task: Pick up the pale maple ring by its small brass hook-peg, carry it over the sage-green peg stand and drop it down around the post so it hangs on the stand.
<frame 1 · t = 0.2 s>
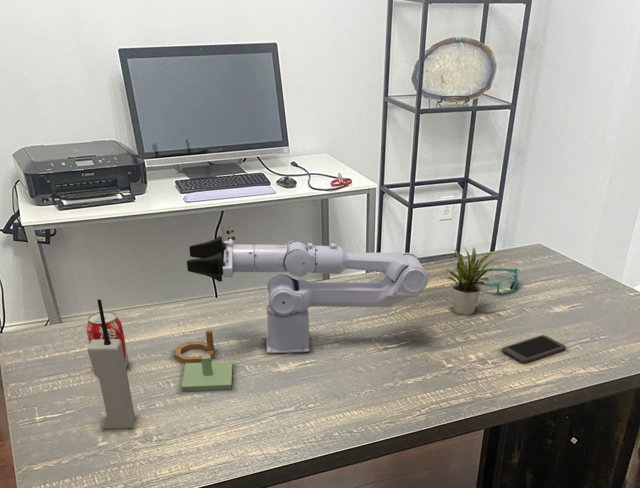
hand: (188, 258, 142), 21 cm above the table, tool horizontal, fingers open, 7 cm apart
soda can: (112, 369, 145), on the table
cell phone: (533, 350, 156), on the table
sunglasses: (491, 285, 190), on the table
house plant: (469, 311, 174), on the table
vintage mobile phone: (120, 424, 127), on the table
maple ring: (194, 354, 151), on the table
peg stand: (208, 378, 142), on the table
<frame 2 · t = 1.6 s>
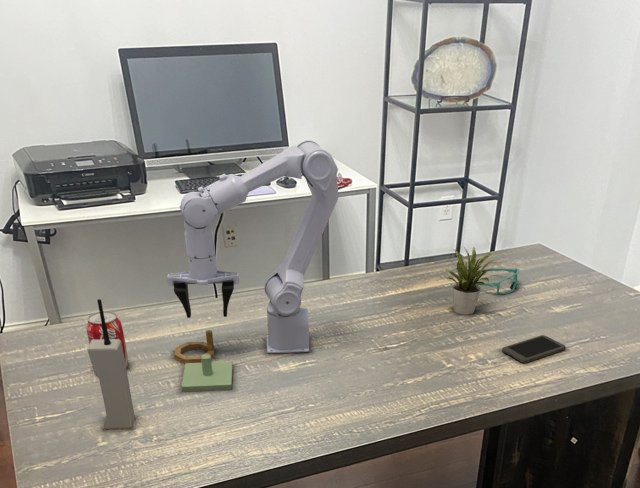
hand: (207, 315, 146), 9 cm above the table, tool pointing down, fingers open, 7 cm apart
nothing on the table moved.
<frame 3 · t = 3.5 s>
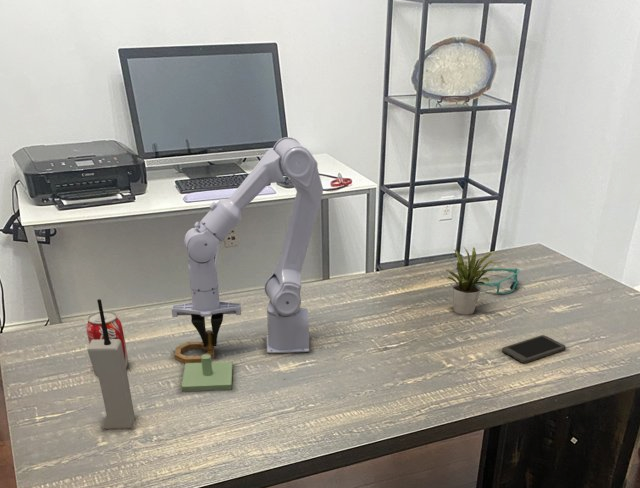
hand: (210, 344, 150), 2 cm above the table, tool pointing down, fingers closed on maple ring
maple ring: (195, 354, 151), on the table, touching gripper
everything else where it was.
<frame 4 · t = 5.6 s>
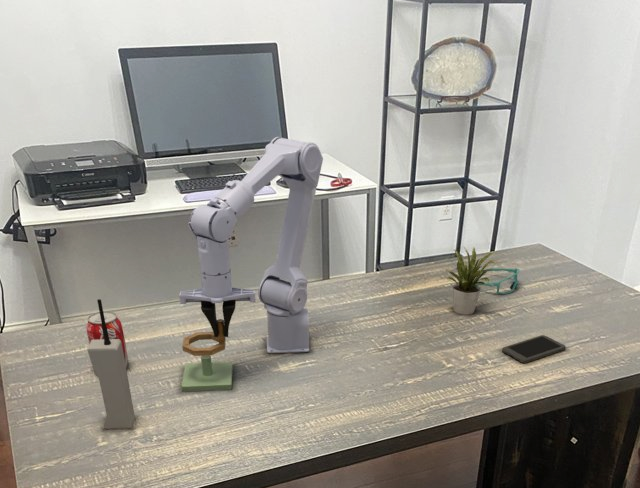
hand: (221, 334, 137), 10 cm above the table, tool pointing down, fingers closed on maple ring
maple ring: (204, 346, 138), point 7 cm above the table, touching gripper
everything else where it was.
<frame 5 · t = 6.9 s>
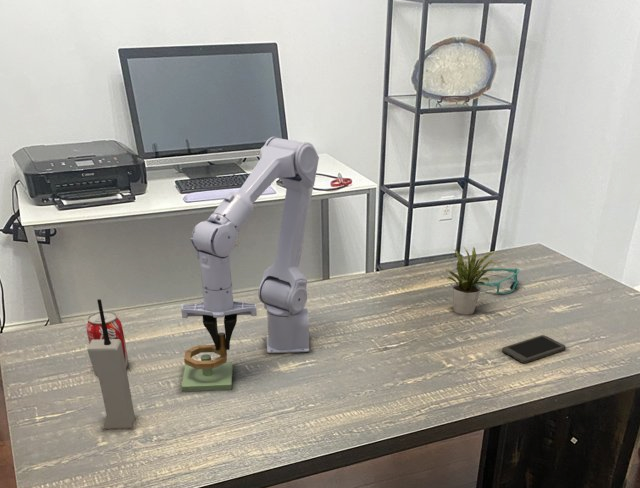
hand: (222, 348, 139), 7 cm above the table, tool pointing down, fingers closed on maple ring
maple ring: (206, 359, 140), point 5 cm above the table, touching gripper
everything else where it was.
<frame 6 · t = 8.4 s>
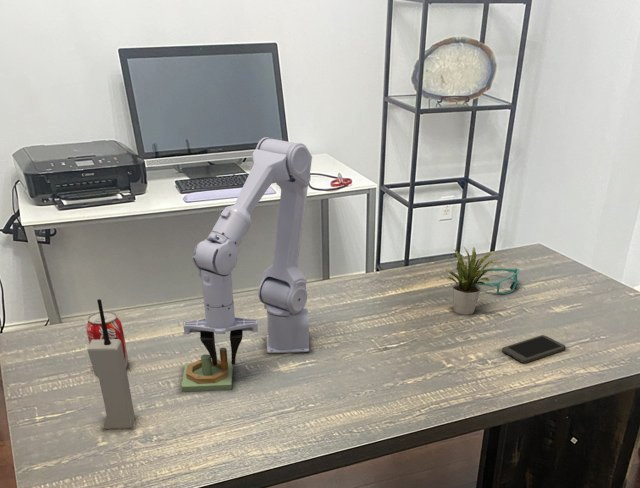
hand: (224, 363, 141), 4 cm above the table, tool pointing down, fingers open, 3 cm apart
maple ring: (207, 373, 142), point 1 cm above the table, touching peg stand
everything else where it was.
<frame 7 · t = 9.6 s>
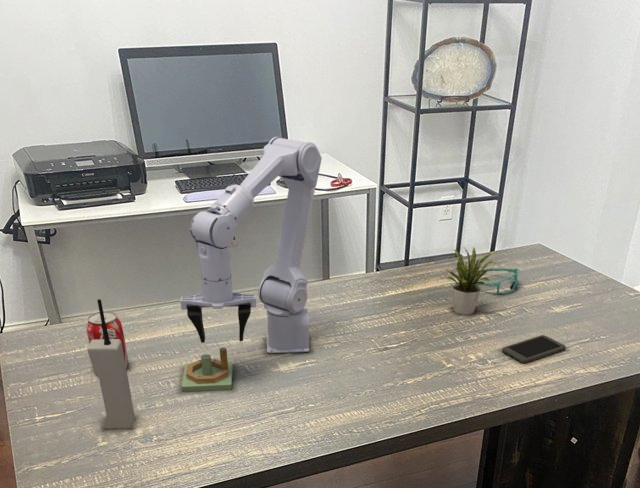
hand: (222, 339, 138), 9 cm above the table, tool pointing down, fingers open, 7 cm apart
nothing on the table moved.
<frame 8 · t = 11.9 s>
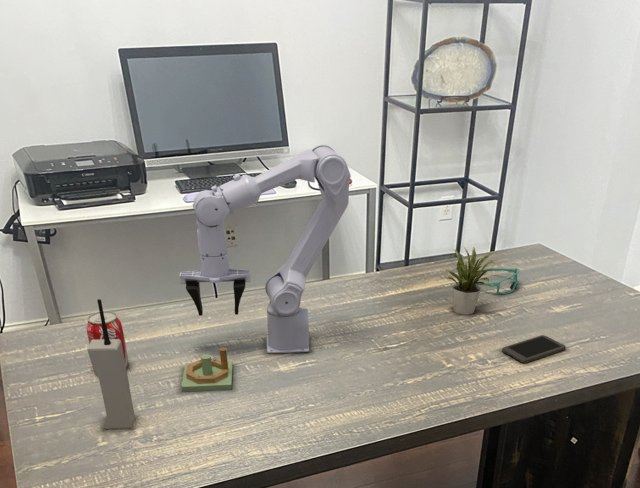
hand: (218, 313, 147), 9 cm above the table, tool pointing down, fingers open, 7 cm apart
nothing on the table moved.
at the end: maple ring 0.0 cm from the peg stand (horizontally); maple ring point 1.2 cm above the table; the gripper is holding nothing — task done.
